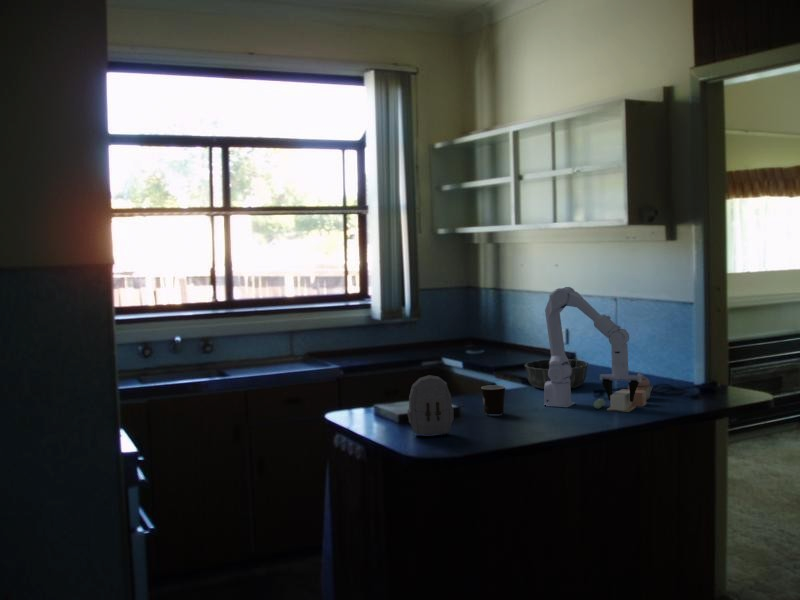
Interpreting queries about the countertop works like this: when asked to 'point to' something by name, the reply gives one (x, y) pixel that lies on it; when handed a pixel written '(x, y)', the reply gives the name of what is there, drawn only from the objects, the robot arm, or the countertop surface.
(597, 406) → the marble
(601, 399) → the marble
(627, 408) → the coaster
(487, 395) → the coffee mug
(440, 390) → the grey rounded bag
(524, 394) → the countertop surface
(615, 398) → the block
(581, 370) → the bundt pan
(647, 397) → the cupcake
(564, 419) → the countertop surface
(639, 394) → the tan cardboard brick
